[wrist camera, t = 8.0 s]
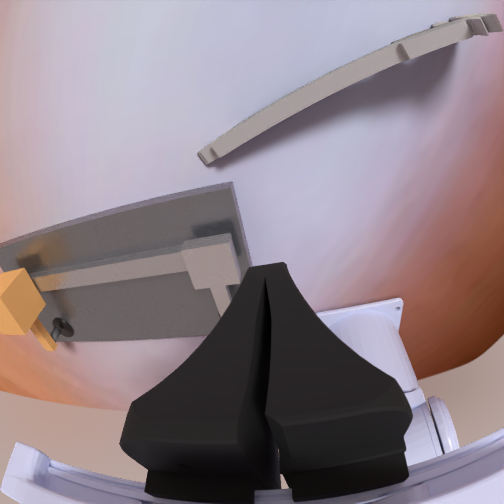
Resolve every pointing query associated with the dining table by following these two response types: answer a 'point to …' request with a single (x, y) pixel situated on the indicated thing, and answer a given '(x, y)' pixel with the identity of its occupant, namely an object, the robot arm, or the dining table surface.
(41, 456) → the robot arm
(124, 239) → the board
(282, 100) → the caliper
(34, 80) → the dining table surface
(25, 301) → the block
